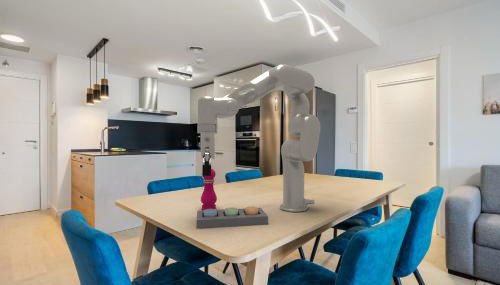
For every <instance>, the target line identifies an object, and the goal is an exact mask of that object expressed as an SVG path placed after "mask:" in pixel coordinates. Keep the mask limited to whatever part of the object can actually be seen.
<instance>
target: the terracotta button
mask: <svg viewBox="0 0 500 285" xmlns="http://www.w3.org/2000/svg"><path fill="white" fill-rule="evenodd" d="M258 208H259V207H257V206H256V207H255V206H248V207H244V209H245V215H255V214H258Z"/></svg>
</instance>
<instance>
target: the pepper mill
mask: <svg viewBox="0 0 500 285" xmlns="http://www.w3.org/2000/svg"><path fill="white" fill-rule="evenodd" d="M215 177H216V171H215V169H213V168H211V176H202V178H203V180H202V181H203V182H202V183H203V185H204V186H203V191H202V194H201V196H200V202H201V203H202V205H201V211H204V210H206V209H216V210H217V206H216V203H217V200H218V197H217V194H216V192H215V188H214V183H215Z"/></svg>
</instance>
